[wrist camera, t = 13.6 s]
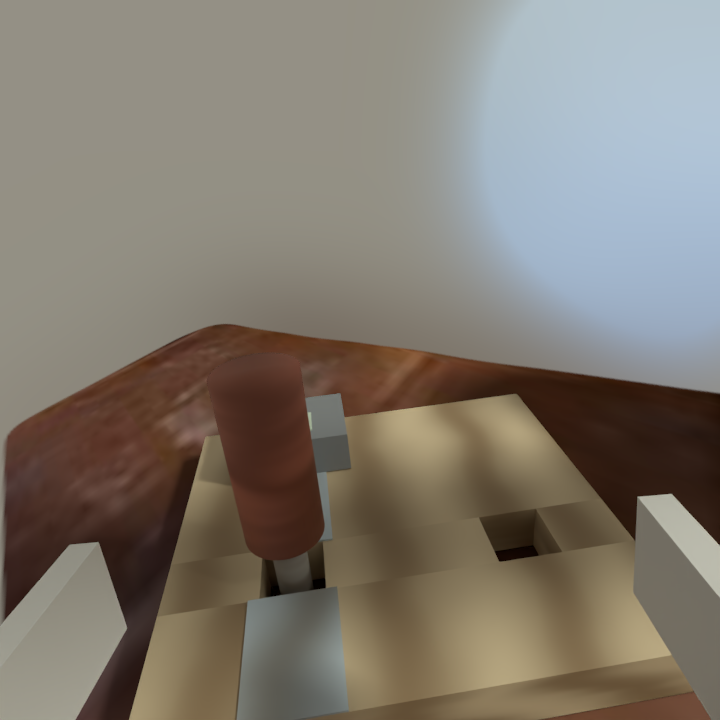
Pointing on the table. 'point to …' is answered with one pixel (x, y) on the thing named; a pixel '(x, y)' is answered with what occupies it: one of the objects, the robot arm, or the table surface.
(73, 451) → the table surface
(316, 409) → the block
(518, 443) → the board
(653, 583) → the robot arm
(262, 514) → the awl
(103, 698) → the table surface
